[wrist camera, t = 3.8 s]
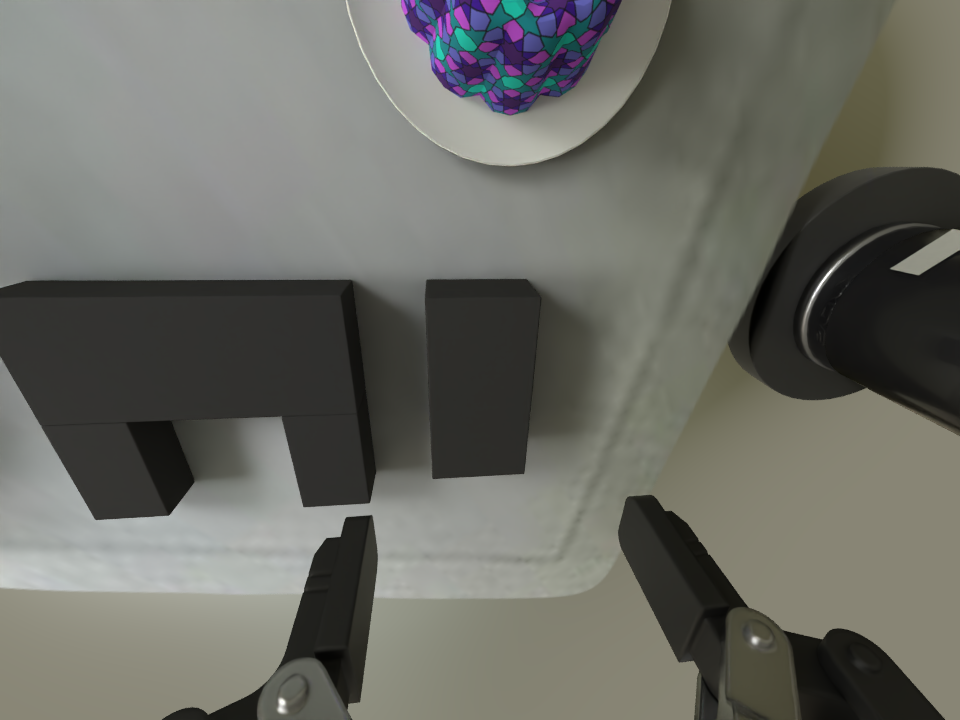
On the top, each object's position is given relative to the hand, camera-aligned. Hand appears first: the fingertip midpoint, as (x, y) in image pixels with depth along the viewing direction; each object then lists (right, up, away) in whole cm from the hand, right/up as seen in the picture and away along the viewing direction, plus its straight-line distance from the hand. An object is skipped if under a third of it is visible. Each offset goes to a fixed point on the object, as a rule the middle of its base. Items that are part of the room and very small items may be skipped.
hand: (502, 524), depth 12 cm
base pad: (-14, +3, +8) cm, 17 cm away
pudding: (0, +19, +2) cm, 19 cm away
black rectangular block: (-1, +5, +9) cm, 10 cm away
